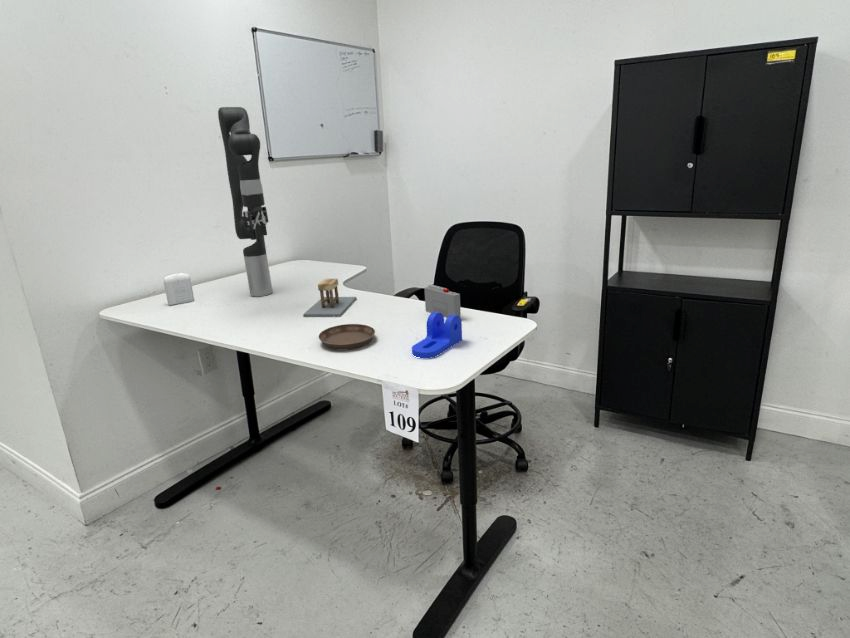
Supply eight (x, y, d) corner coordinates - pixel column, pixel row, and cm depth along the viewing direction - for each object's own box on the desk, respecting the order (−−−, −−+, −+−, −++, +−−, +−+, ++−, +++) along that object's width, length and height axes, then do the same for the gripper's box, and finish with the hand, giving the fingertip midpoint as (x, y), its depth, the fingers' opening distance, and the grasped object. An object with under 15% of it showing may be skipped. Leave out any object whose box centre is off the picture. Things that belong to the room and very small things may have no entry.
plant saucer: (386, 341, 165) (386, 331, 164) (339, 357, 154) (338, 348, 153) (355, 328, 178) (354, 320, 177) (309, 343, 167) (308, 334, 166)
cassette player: (460, 318, 181) (459, 291, 177) (454, 320, 179) (453, 292, 176) (431, 309, 192) (430, 283, 189) (425, 311, 191) (424, 285, 187)
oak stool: (320, 308, 197) (317, 284, 194) (327, 302, 205) (324, 278, 202) (333, 308, 196) (331, 284, 193) (340, 302, 204) (337, 278, 201)
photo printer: (193, 299, 224) (187, 270, 220) (195, 301, 220) (189, 272, 216) (167, 304, 218) (161, 275, 214) (169, 306, 215) (162, 277, 211)
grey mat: (323, 299, 212) (323, 297, 212) (356, 299, 210) (356, 296, 210) (303, 316, 192) (303, 314, 191) (340, 316, 190) (339, 314, 189)
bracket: (439, 336, 166) (438, 309, 163) (462, 340, 162) (461, 312, 159) (406, 356, 152) (404, 327, 149) (430, 361, 148) (428, 331, 145)
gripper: (251, 191, 196) (258, 234, 201) (232, 195, 183) (240, 241, 188) (270, 190, 195) (276, 233, 200) (252, 194, 181) (260, 240, 187)
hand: (259, 237), depth 194 cm, fingers open, 8 cm apart
